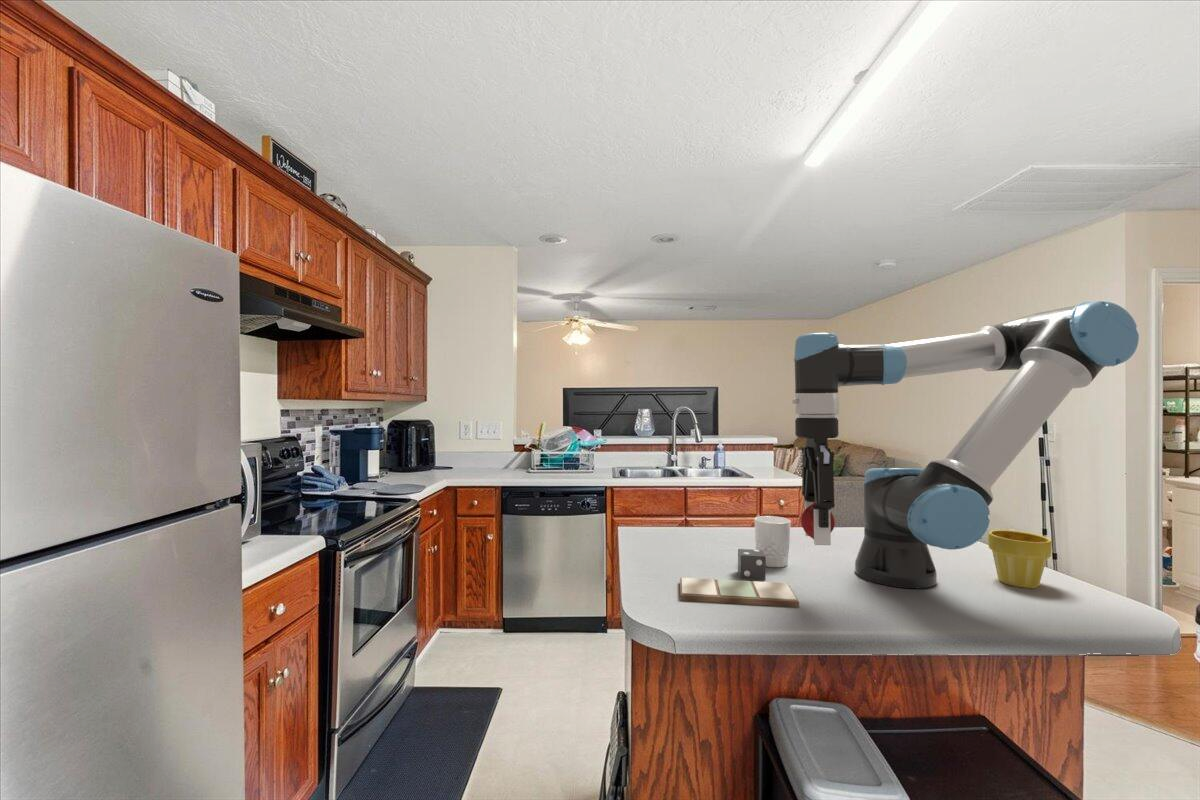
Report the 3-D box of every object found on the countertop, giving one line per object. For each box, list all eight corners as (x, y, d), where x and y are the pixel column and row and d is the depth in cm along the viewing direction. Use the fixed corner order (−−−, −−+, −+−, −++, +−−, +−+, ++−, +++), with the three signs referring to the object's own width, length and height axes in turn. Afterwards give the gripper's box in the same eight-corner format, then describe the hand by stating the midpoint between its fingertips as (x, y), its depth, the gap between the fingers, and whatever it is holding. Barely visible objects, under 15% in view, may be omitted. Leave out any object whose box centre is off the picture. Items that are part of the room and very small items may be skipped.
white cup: (795, 568, 120) (795, 523, 120) (759, 568, 120) (759, 523, 120) (783, 558, 128) (784, 516, 128) (750, 558, 128) (750, 515, 128)
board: (787, 588, 107) (787, 582, 107) (799, 607, 97) (799, 600, 97) (680, 582, 110) (680, 576, 110) (680, 600, 100) (680, 593, 100)
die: (761, 573, 117) (761, 549, 117) (765, 580, 112) (765, 555, 112) (737, 571, 118) (738, 548, 118) (740, 579, 112) (740, 554, 112)
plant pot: (1064, 593, 105) (1064, 542, 105) (1005, 590, 107) (1006, 540, 107) (1031, 576, 116) (1031, 530, 116) (977, 573, 117) (978, 528, 117)
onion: (837, 546, 98) (837, 502, 98) (804, 544, 99) (803, 501, 99) (830, 538, 104) (830, 496, 104) (799, 537, 105) (798, 495, 105)
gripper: (785, 415, 111) (786, 528, 111) (807, 417, 93) (809, 553, 93) (823, 415, 110) (824, 528, 110) (854, 417, 92) (855, 554, 92)
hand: (817, 539), depth 102 cm, fingers closed on onion, 6 cm apart
